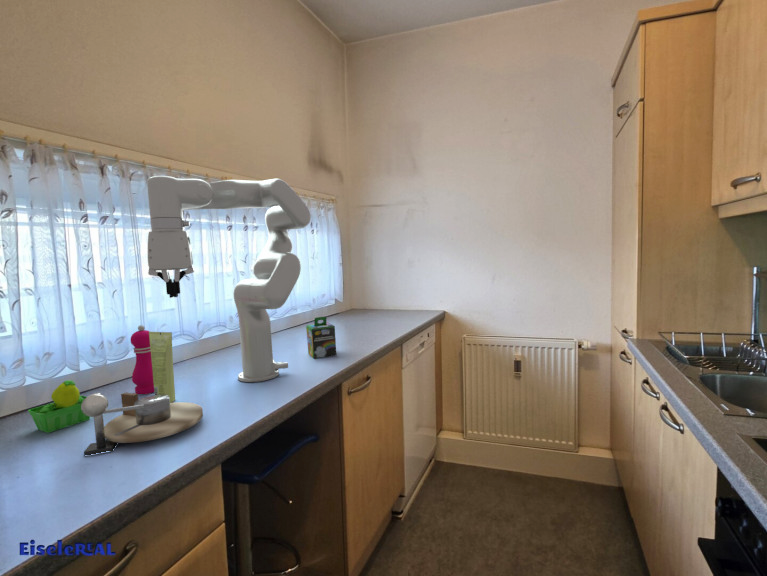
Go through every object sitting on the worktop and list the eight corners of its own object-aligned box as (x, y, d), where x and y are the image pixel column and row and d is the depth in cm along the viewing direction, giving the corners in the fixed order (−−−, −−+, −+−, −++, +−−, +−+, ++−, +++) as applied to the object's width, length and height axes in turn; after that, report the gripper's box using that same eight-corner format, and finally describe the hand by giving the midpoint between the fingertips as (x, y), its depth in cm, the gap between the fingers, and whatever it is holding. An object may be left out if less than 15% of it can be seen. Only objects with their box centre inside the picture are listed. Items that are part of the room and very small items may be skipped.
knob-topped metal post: (149, 438, 93) (144, 384, 91) (145, 446, 89) (140, 389, 88) (91, 448, 89) (84, 391, 88) (84, 456, 85) (77, 397, 84)
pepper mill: (148, 395, 122) (142, 327, 120) (127, 395, 123) (120, 327, 122) (166, 387, 129) (160, 322, 127) (146, 387, 130) (139, 323, 129)
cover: (155, 411, 101) (153, 393, 101) (177, 414, 99) (176, 395, 98) (129, 423, 95) (126, 403, 94) (152, 426, 92) (150, 406, 92)
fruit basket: (82, 413, 110) (78, 371, 109) (100, 419, 105) (95, 375, 104) (29, 430, 100) (23, 384, 99) (46, 437, 96) (40, 389, 95)
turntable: (161, 403, 110) (159, 380, 110) (221, 411, 103) (219, 386, 102) (82, 436, 92) (79, 408, 91) (148, 448, 84) (145, 418, 84)
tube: (178, 397, 120) (171, 328, 118) (178, 402, 115) (171, 331, 113) (155, 400, 117) (148, 331, 116) (154, 406, 113) (147, 334, 111)
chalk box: (330, 350, 168) (328, 313, 166) (337, 355, 159) (335, 316, 158) (307, 354, 164) (304, 316, 163) (313, 359, 156) (310, 319, 154)
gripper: (200, 226, 115) (206, 293, 116) (138, 227, 110) (144, 297, 111) (197, 224, 107) (203, 296, 109) (131, 225, 103) (138, 300, 104)
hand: (174, 296), depth 110 cm, fingers closed
